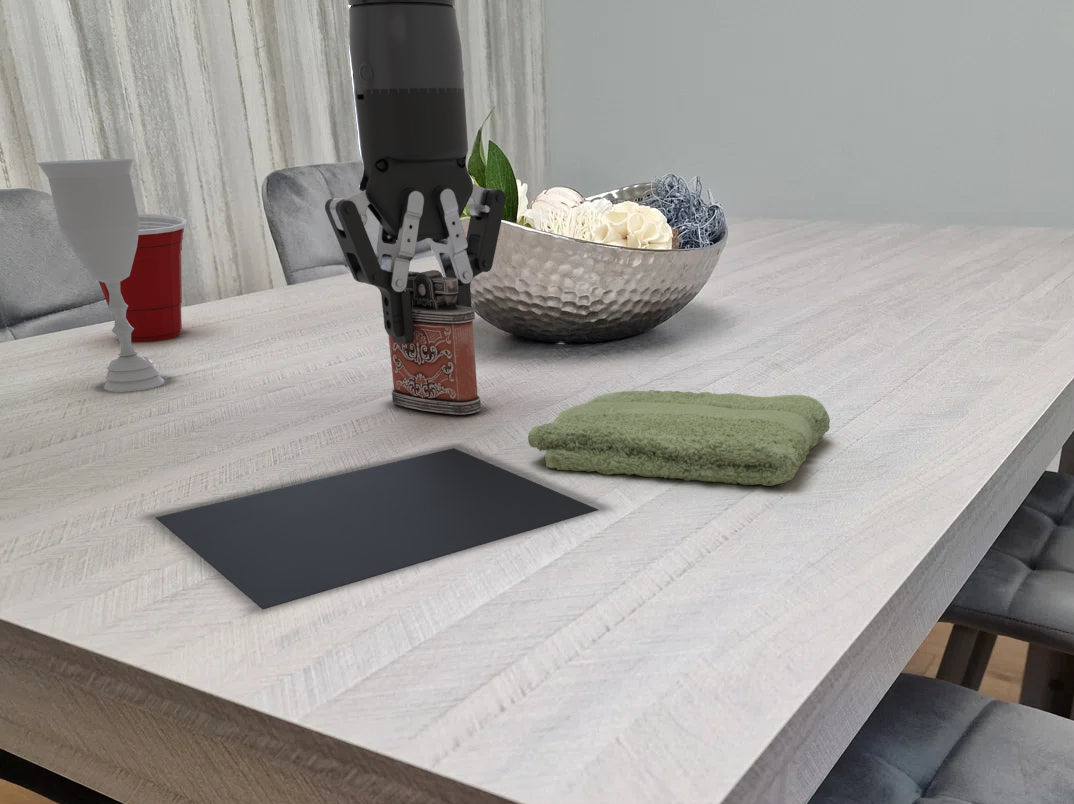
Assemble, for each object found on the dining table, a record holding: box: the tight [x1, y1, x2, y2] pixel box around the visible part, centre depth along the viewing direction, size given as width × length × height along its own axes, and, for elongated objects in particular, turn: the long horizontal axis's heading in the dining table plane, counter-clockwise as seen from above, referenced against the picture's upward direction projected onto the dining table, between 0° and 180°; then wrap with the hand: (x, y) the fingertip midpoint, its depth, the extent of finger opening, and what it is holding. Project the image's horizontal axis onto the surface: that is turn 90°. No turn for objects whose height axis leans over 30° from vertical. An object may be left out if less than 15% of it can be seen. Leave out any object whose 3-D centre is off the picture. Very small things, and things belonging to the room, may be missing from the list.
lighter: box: [388, 269, 482, 415], centre depth 79 cm, size 8×3×10 cm, turn 57°
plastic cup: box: [98, 213, 188, 343], centre depth 107 cm, size 11×11×12 cm
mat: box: [155, 447, 600, 610], centre depth 60 cm, size 20×16×1 cm
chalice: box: [37, 158, 165, 393], centre depth 86 cm, size 7×7×18 cm
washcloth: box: [527, 389, 831, 487], centre depth 69 cm, size 13×18×3 cm
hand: (430, 336), depth 78 cm, fingers closed on lighter, 4 cm apart
